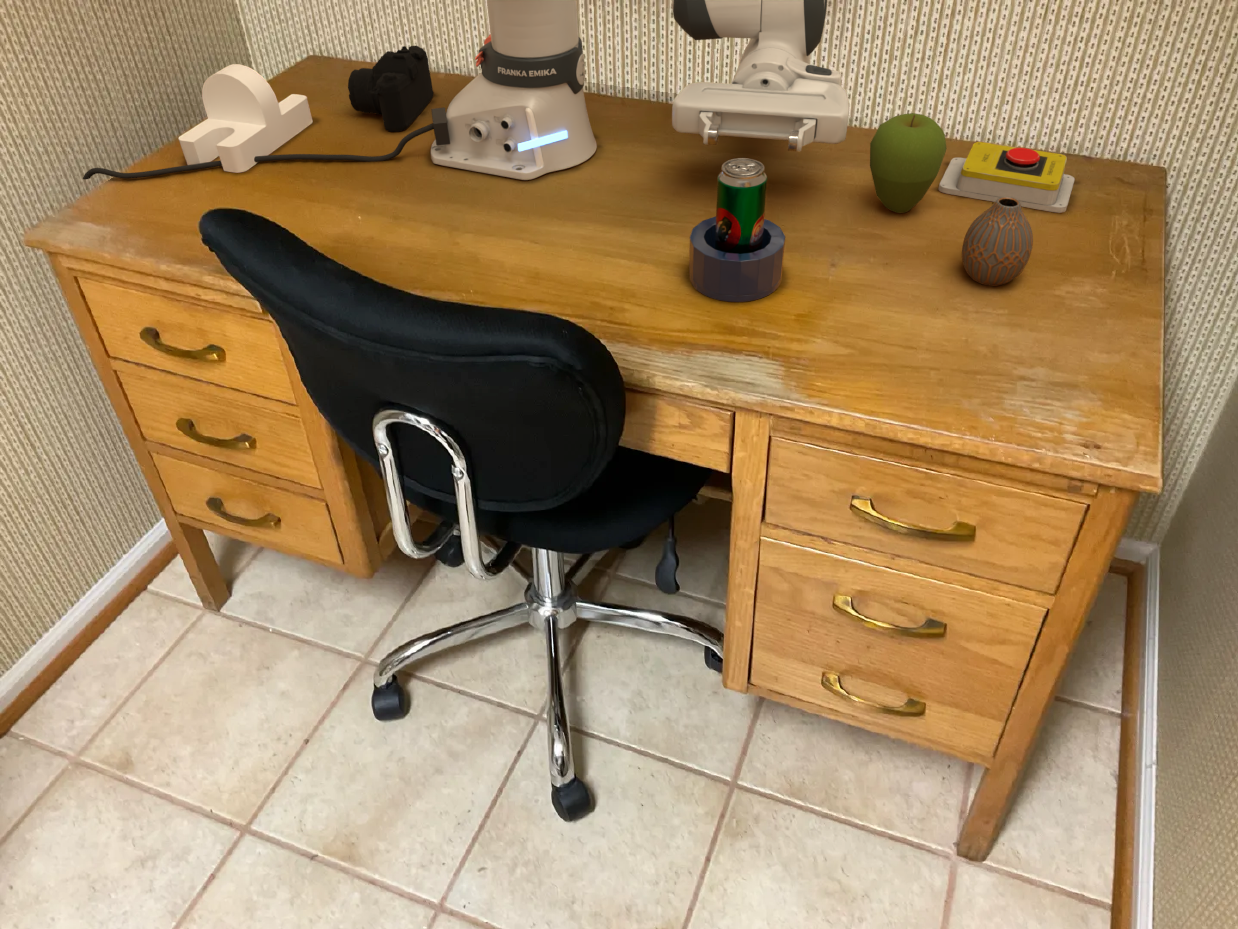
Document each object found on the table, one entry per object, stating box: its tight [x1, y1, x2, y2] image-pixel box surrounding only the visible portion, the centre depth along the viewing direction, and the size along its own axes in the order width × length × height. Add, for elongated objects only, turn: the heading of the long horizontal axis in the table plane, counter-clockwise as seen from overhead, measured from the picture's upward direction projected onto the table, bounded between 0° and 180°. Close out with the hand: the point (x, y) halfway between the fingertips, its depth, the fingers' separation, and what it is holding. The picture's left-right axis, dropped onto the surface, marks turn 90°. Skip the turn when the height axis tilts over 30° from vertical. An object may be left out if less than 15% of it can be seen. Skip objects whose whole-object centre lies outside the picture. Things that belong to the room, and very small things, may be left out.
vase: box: [961, 197, 1034, 287], centre depth 102 cm, size 7×7×9 cm
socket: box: [688, 215, 786, 303], centre depth 105 cm, size 10×10×5 cm
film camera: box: [347, 45, 435, 133], centre depth 141 cm, size 15×10×9 cm, turn 169°
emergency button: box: [938, 141, 1076, 214], centre depth 119 cm, size 9×4×15 cm
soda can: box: [715, 157, 768, 254], centre depth 102 cm, size 5×5×12 cm
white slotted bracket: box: [178, 63, 313, 174], centre depth 134 cm, size 10×18×10 cm, turn 161°
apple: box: [869, 112, 948, 214], centre depth 113 cm, size 9×8×12 cm
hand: (752, 141), depth 107 cm, fingers open, 8 cm apart
